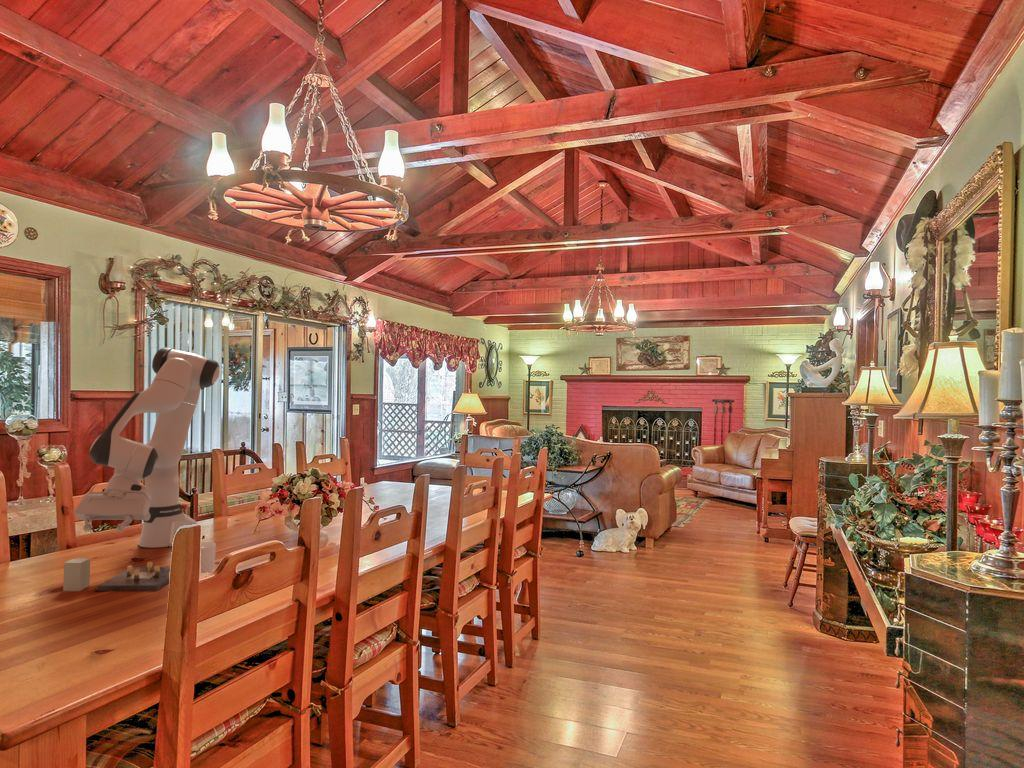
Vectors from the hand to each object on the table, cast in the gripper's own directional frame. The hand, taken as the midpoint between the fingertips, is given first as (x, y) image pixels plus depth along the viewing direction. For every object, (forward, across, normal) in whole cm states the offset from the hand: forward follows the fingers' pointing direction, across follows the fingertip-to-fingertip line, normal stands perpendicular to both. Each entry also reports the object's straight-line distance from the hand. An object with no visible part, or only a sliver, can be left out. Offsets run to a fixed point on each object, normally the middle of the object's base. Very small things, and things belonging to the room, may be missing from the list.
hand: (103, 530), depth 190 cm
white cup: (+12, +30, +8) cm, 33 cm away
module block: (+18, -1, +2) cm, 18 cm away
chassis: (+13, +14, +6) cm, 21 cm away
